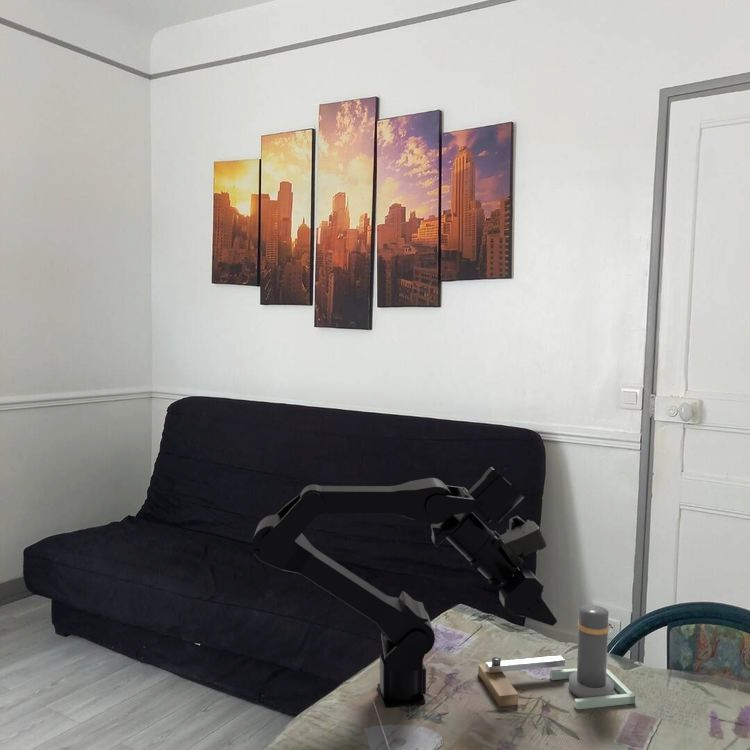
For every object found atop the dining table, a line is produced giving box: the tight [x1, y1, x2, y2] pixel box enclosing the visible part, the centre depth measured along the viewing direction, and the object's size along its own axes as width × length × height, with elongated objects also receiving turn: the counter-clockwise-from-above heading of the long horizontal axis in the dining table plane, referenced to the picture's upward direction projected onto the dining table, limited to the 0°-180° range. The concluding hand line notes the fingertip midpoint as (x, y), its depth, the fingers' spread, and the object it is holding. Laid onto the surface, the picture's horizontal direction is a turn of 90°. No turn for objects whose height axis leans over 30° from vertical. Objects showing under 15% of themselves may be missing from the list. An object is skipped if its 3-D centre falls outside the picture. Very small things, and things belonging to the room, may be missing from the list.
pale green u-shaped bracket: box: [549, 667, 636, 710], centre depth 112 cm, size 10×10×1 cm
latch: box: [485, 655, 566, 673], centre depth 115 cm, size 13×2×2 cm, turn 100°
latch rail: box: [477, 663, 519, 707], centre depth 112 cm, size 3×10×2 cm, turn 10°
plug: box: [568, 604, 615, 699], centre depth 111 cm, size 7×7×13 cm
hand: (546, 610), depth 110 cm, fingers open, 9 cm apart
